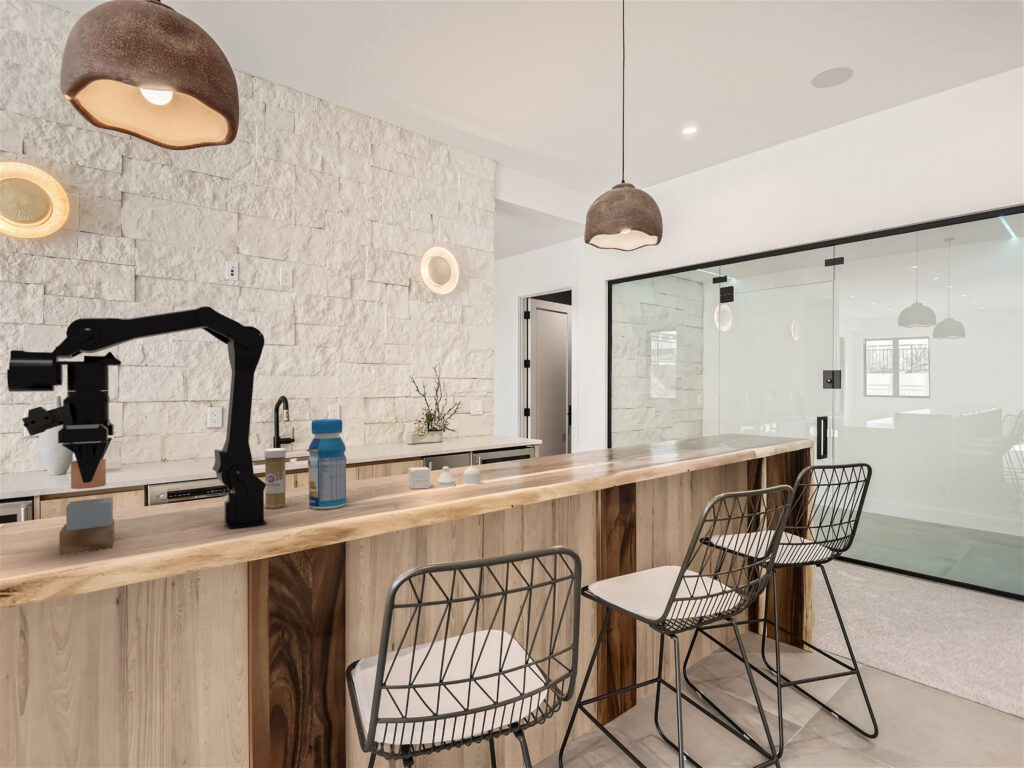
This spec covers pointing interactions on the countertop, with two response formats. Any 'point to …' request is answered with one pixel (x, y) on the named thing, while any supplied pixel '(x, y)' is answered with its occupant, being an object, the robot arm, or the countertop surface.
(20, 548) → the countertop surface
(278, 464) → the sprinkles bottle
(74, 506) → the tower top
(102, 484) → the tan cylinder
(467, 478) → the container set
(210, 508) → the countertop surface
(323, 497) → the beverage bottle
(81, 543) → the tower base
